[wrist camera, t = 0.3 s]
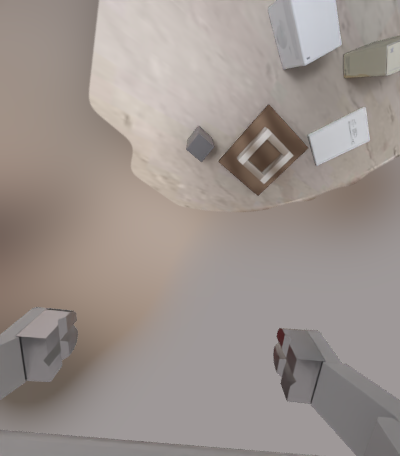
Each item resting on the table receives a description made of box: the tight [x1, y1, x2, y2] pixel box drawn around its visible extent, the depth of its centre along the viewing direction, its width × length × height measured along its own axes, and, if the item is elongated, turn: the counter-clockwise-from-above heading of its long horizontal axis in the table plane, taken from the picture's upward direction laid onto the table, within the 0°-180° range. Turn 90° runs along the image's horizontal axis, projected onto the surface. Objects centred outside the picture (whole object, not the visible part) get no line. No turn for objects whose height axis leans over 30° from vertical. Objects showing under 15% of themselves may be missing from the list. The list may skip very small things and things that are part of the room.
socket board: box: [219, 105, 308, 195], centre depth 54 cm, size 16×14×4 cm
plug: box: [186, 126, 214, 162], centre depth 50 cm, size 4×4×9 cm
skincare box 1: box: [268, 0, 342, 69], centre depth 39 cm, size 10×6×10 cm, turn 27°
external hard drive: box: [307, 107, 370, 166], centre depth 54 cm, size 2×8×12 cm
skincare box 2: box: [344, 36, 400, 78], centre depth 41 cm, size 6×4×12 cm
